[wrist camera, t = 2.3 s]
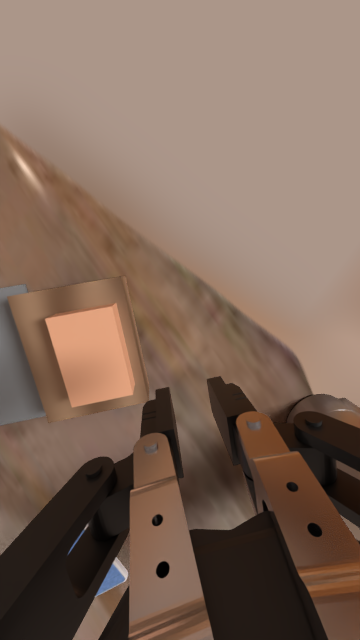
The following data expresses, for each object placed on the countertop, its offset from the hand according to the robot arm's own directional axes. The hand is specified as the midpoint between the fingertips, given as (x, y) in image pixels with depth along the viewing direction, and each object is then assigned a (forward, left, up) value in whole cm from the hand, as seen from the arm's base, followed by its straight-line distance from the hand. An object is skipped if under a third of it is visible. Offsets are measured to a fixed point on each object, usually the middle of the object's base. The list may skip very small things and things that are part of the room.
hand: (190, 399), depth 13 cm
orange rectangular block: (+8, 0, -12) cm, 14 cm away
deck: (+10, 0, -17) cm, 20 cm away
